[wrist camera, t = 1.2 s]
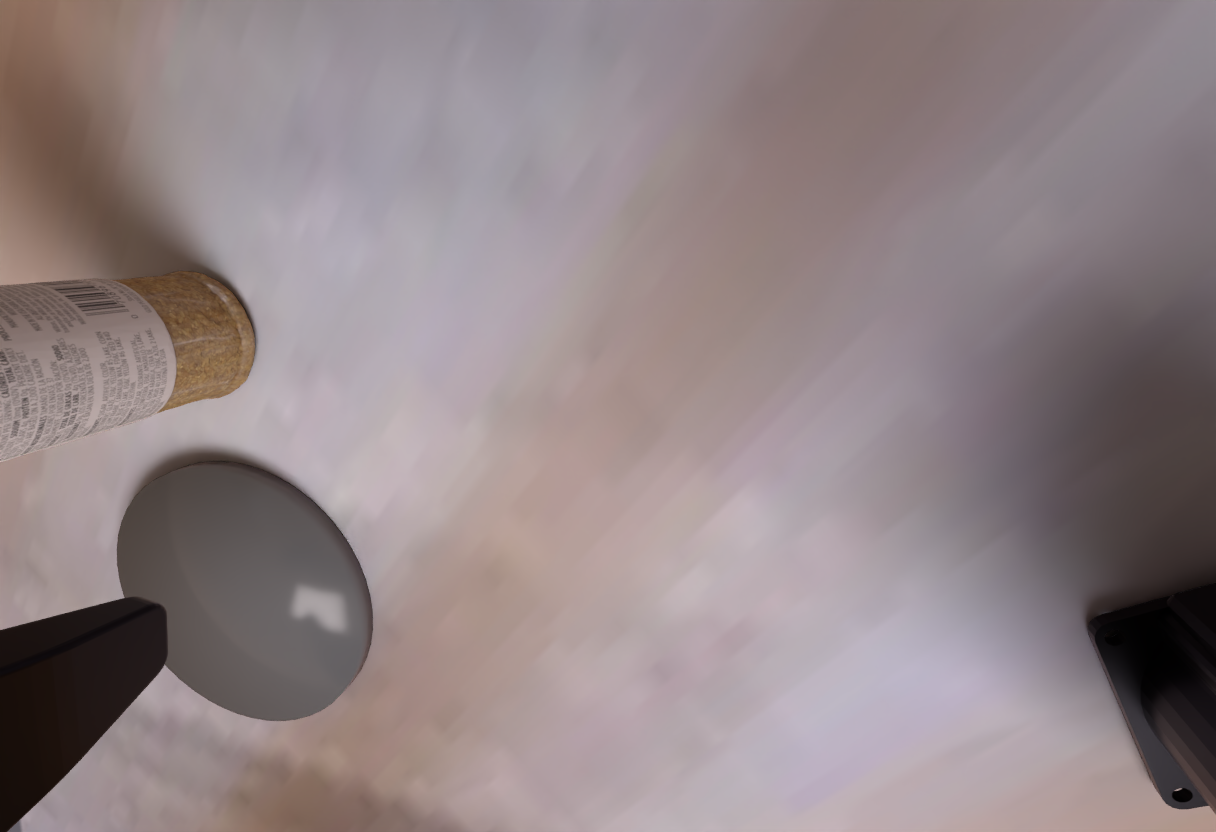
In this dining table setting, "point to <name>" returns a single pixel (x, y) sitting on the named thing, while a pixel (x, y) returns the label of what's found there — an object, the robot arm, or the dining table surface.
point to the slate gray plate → (248, 588)
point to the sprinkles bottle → (113, 354)
